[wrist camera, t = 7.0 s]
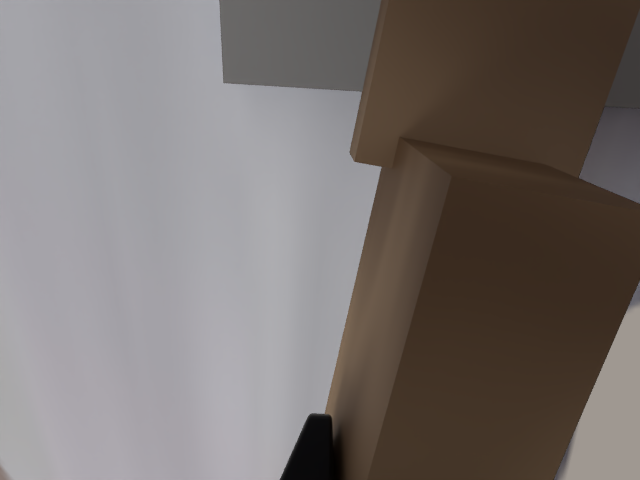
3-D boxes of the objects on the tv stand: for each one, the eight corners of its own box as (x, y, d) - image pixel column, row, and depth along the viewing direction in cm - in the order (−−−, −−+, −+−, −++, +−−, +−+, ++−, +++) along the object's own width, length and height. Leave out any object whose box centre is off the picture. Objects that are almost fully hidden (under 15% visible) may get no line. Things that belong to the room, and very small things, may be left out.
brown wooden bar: (377, 680, 13) (405, 892, 10) (241, 670, 13) (221, 886, 10) (660, -141, 7) (970, -312, 4) (423, -202, 7) (542, -449, 4)
